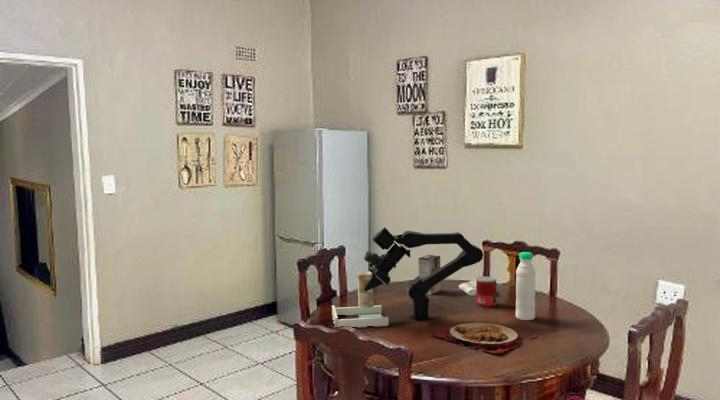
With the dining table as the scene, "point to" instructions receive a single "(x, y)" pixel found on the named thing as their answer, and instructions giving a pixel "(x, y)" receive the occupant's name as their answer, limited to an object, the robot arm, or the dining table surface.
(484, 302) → the canned food
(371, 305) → the beige cylinder
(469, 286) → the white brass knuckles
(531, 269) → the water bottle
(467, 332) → the plate with food
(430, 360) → the dining table surface
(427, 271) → the coffee box
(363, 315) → the tray
